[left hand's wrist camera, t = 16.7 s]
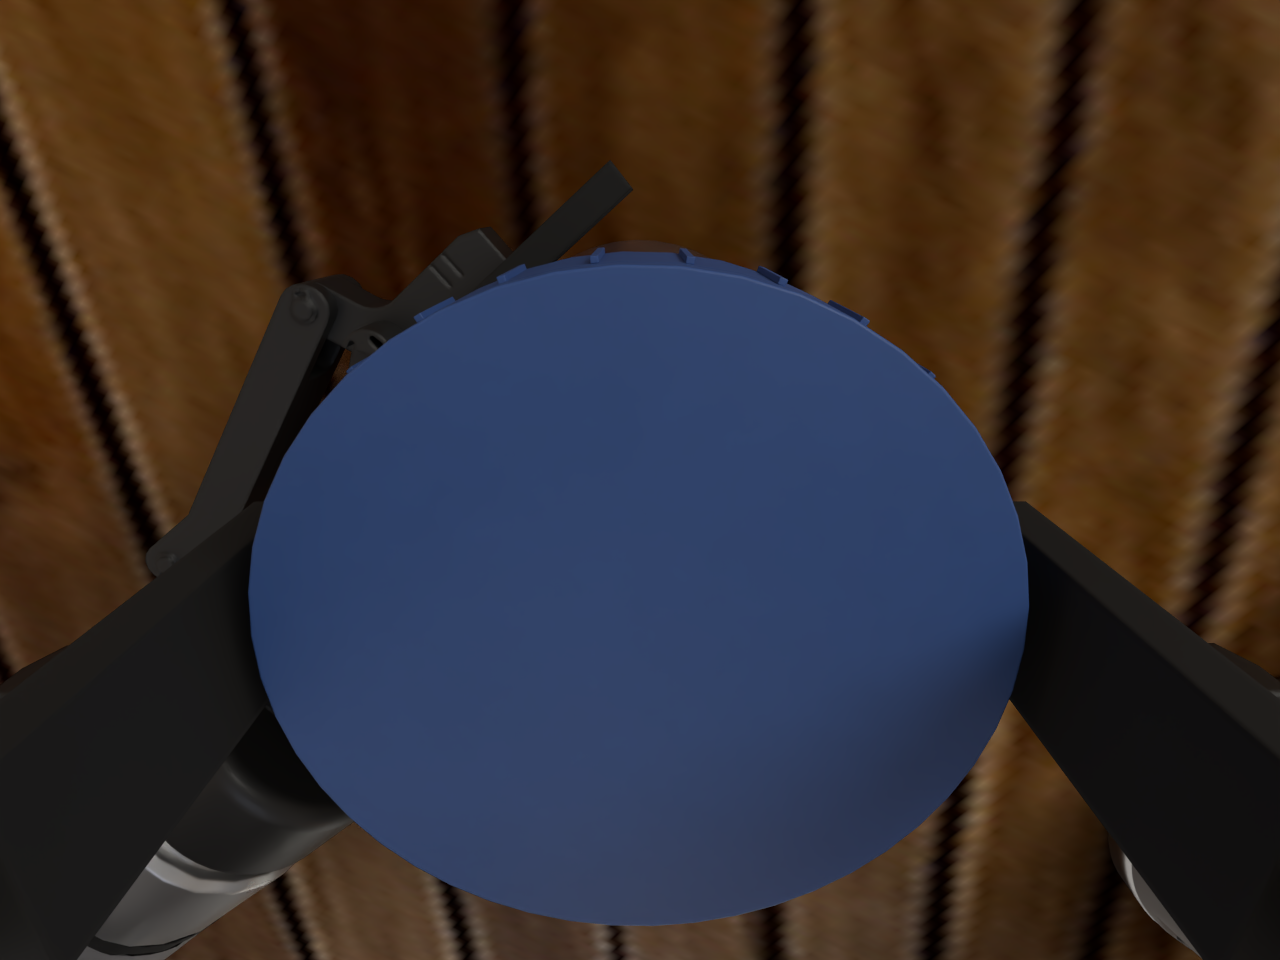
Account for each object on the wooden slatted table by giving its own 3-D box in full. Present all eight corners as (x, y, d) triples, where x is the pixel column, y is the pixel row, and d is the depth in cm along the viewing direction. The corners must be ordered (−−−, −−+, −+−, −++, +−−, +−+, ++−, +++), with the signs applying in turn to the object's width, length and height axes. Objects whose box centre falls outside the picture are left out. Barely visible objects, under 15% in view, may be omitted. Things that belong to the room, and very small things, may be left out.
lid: (905, 135, 10) (980, 116, 8) (1000, 748, 14) (1066, 849, 12) (185, 377, 11) (75, 420, 9) (468, 872, 15) (439, 983, 13)
